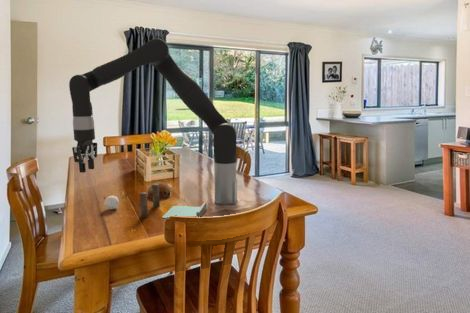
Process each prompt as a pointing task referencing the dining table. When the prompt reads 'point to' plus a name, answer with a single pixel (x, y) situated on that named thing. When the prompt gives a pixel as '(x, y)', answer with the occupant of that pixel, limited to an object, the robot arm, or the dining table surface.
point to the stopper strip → (201, 210)
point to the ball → (111, 202)
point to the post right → (156, 195)
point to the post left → (143, 205)
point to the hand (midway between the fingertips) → (87, 170)
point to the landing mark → (182, 211)
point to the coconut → (160, 190)
